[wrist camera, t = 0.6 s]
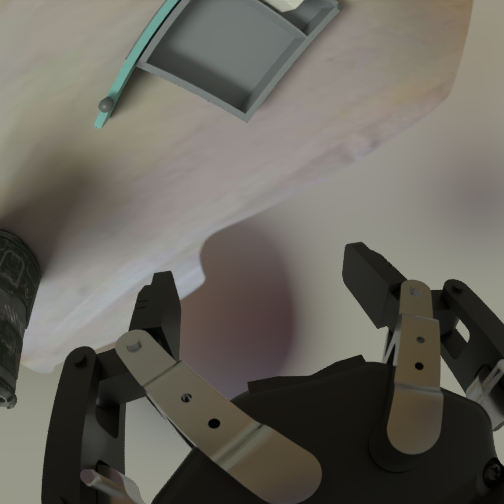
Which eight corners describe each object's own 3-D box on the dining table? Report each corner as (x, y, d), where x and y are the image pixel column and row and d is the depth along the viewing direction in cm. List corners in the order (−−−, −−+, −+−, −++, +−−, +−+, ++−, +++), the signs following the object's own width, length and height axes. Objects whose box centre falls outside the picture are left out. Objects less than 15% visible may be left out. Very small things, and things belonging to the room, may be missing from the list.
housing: (126, 59, 23) (120, 60, 20) (231, -65, 13) (238, -76, 11) (239, 115, 32) (247, 122, 29) (332, 3, 22) (349, 1, 20)
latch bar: (98, 117, 26) (88, 127, 23) (186, -19, 17) (188, -30, 14) (109, 121, 27) (101, 132, 24) (197, -14, 18) (201, -24, 15)
